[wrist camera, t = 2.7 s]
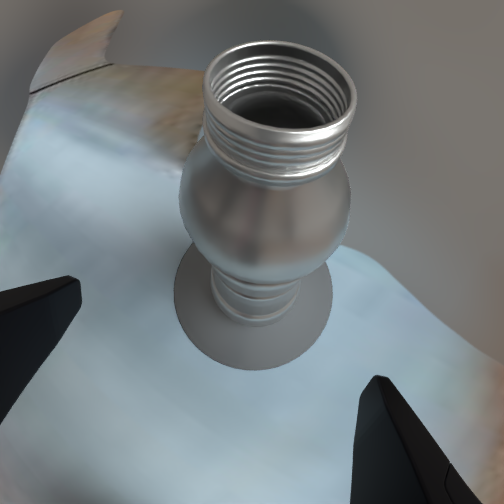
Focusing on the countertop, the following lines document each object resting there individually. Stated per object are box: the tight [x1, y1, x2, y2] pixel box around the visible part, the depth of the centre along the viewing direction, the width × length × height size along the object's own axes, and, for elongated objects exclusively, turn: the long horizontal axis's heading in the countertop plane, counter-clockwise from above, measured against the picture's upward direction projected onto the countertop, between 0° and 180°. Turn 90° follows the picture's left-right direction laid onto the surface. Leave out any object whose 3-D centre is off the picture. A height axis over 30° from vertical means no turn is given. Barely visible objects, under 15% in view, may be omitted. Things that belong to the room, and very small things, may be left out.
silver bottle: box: [179, 40, 357, 327], centre depth 16 cm, size 6×7×20 cm
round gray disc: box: [174, 243, 333, 370], centre depth 25 cm, size 13×13×1 cm
